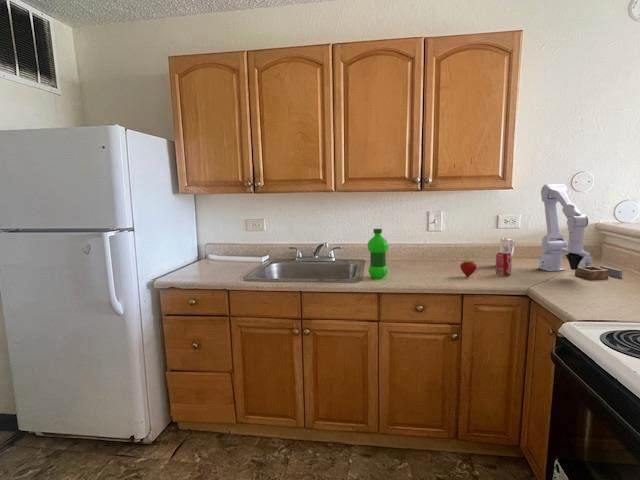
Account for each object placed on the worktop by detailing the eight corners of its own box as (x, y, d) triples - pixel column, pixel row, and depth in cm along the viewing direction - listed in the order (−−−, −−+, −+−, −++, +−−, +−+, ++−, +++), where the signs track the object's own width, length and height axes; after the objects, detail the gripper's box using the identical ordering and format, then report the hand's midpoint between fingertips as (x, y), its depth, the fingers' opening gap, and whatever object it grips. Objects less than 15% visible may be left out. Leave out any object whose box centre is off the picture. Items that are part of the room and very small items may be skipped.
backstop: (618, 278, 165) (619, 270, 165) (599, 272, 175) (600, 265, 175) (621, 277, 166) (622, 270, 165) (602, 272, 175) (603, 265, 175)
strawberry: (475, 279, 172) (476, 259, 170) (459, 277, 175) (459, 258, 174) (476, 276, 177) (477, 256, 175) (460, 275, 180) (461, 255, 179)
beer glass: (514, 265, 195) (516, 238, 193) (510, 268, 190) (512, 240, 188) (501, 264, 200) (502, 237, 198) (497, 266, 195) (498, 239, 193)
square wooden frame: (590, 279, 164) (591, 271, 164) (574, 274, 173) (575, 266, 173) (608, 278, 165) (609, 270, 165) (591, 273, 174) (592, 265, 174)
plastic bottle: (371, 274, 188) (370, 227, 184) (390, 276, 183) (390, 228, 179) (365, 279, 179) (364, 230, 175) (385, 281, 174) (385, 230, 170)
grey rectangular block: (584, 271, 179) (585, 258, 178) (578, 269, 183) (579, 256, 181) (591, 271, 179) (593, 257, 178) (585, 269, 183) (586, 255, 182)
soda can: (510, 274, 179) (511, 250, 177) (511, 277, 172) (512, 253, 170) (495, 273, 182) (496, 250, 180) (495, 276, 175) (496, 252, 173)
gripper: (597, 243, 159) (594, 272, 161) (571, 238, 173) (569, 265, 175) (583, 243, 158) (580, 273, 160) (557, 239, 172) (556, 266, 174)
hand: (573, 269), depth 167 cm, fingers closed
